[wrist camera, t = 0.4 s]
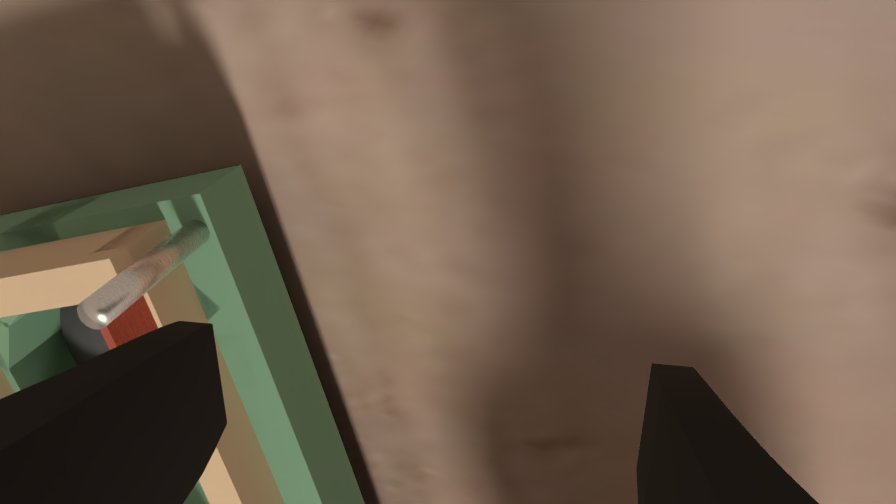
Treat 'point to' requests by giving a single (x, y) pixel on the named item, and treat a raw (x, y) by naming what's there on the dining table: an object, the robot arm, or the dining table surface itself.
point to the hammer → (138, 287)
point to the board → (182, 299)
